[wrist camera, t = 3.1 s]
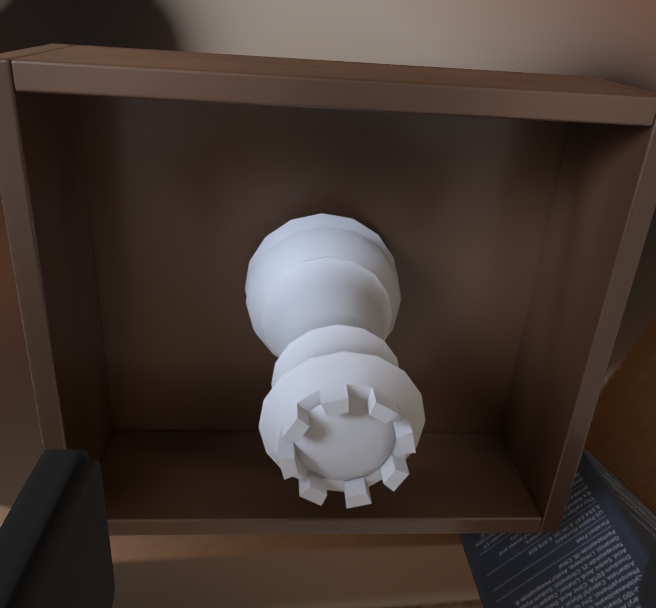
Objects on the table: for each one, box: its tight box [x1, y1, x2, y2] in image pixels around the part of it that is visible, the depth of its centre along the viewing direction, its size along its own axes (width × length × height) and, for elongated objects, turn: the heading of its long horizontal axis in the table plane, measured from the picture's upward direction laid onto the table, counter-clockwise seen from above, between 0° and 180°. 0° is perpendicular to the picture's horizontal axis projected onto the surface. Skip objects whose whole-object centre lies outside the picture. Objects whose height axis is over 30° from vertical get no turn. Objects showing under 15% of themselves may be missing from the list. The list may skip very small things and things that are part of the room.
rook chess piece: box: [245, 213, 425, 508], centre depth 15 cm, size 4×4×8 cm
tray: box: [0, 44, 656, 536], centre depth 17 cm, size 14×12×4 cm
